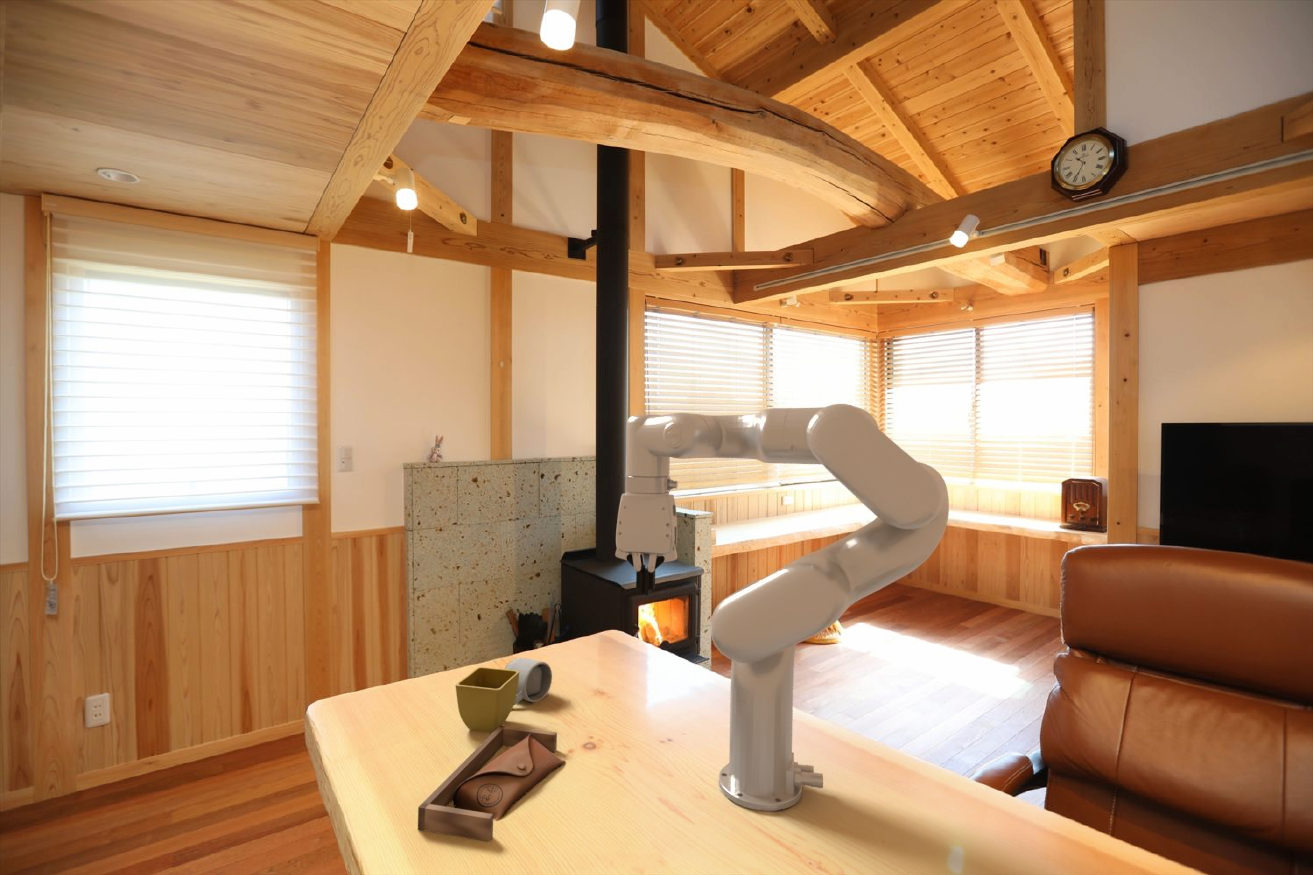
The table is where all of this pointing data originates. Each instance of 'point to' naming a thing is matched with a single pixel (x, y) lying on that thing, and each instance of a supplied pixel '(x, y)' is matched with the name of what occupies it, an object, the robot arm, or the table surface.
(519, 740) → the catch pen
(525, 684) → the ceramic mug
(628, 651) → the table surface
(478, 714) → the flower pot
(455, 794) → the sunglasses case
